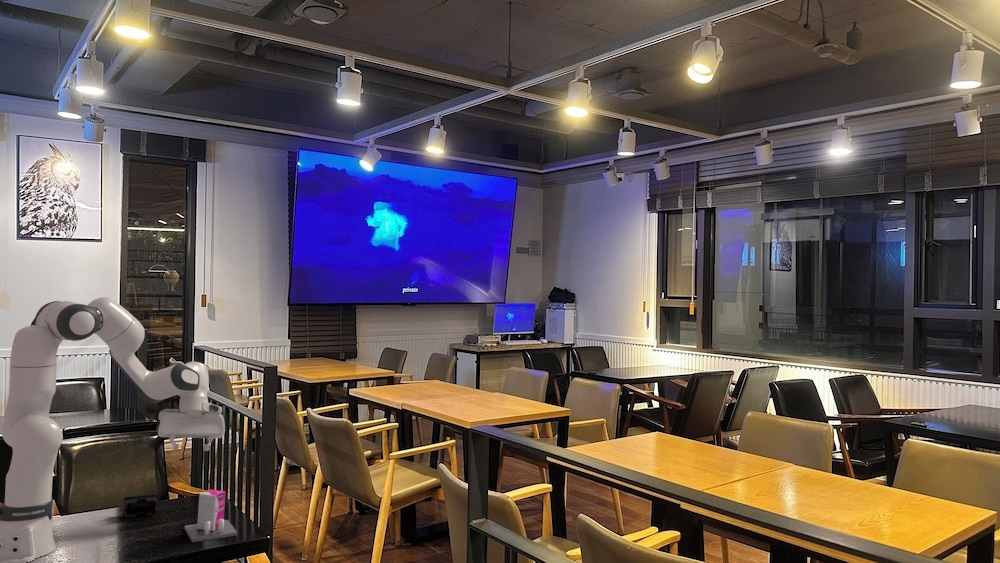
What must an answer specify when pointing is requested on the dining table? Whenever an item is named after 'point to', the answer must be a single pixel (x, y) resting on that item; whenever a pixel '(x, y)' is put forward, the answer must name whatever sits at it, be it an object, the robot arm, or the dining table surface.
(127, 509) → the end cap
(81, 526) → the dining table surface
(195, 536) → the pin tray
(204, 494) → the supplement box
